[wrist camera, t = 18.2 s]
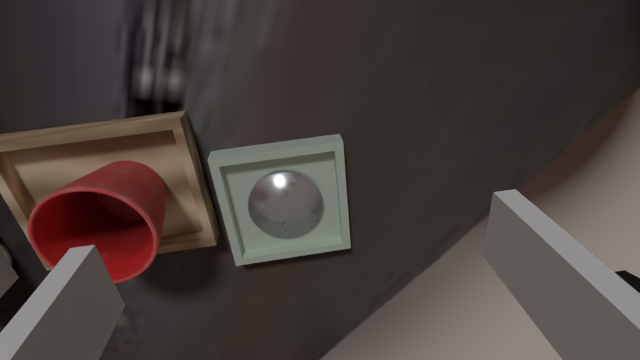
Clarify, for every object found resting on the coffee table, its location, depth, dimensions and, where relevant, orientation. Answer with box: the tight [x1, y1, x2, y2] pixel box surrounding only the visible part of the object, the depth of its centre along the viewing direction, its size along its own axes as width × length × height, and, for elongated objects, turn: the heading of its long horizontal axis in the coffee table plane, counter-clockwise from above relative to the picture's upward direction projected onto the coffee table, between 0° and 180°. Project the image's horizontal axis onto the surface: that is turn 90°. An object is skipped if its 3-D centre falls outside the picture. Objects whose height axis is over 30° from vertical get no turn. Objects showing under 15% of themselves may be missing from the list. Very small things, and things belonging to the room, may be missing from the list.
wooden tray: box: [0, 111, 220, 271], centre depth 40 cm, size 16×20×3 cm
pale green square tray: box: [208, 134, 351, 266], centre depth 43 cm, size 15×15×2 cm
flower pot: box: [27, 160, 167, 283], centre depth 36 cm, size 11×11×10 cm
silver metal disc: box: [248, 170, 323, 237], centre depth 43 cm, size 9×9×1 cm
